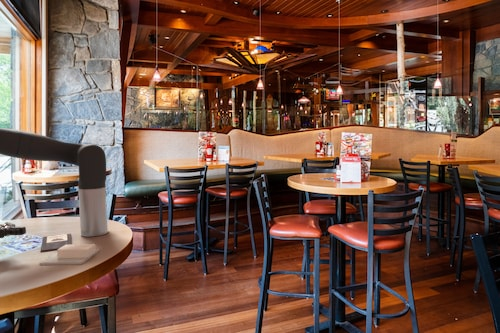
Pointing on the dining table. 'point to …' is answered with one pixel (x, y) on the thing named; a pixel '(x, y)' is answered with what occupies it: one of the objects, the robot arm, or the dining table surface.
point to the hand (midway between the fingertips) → (24, 230)
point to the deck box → (76, 251)
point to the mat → (64, 260)
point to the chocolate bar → (55, 242)
